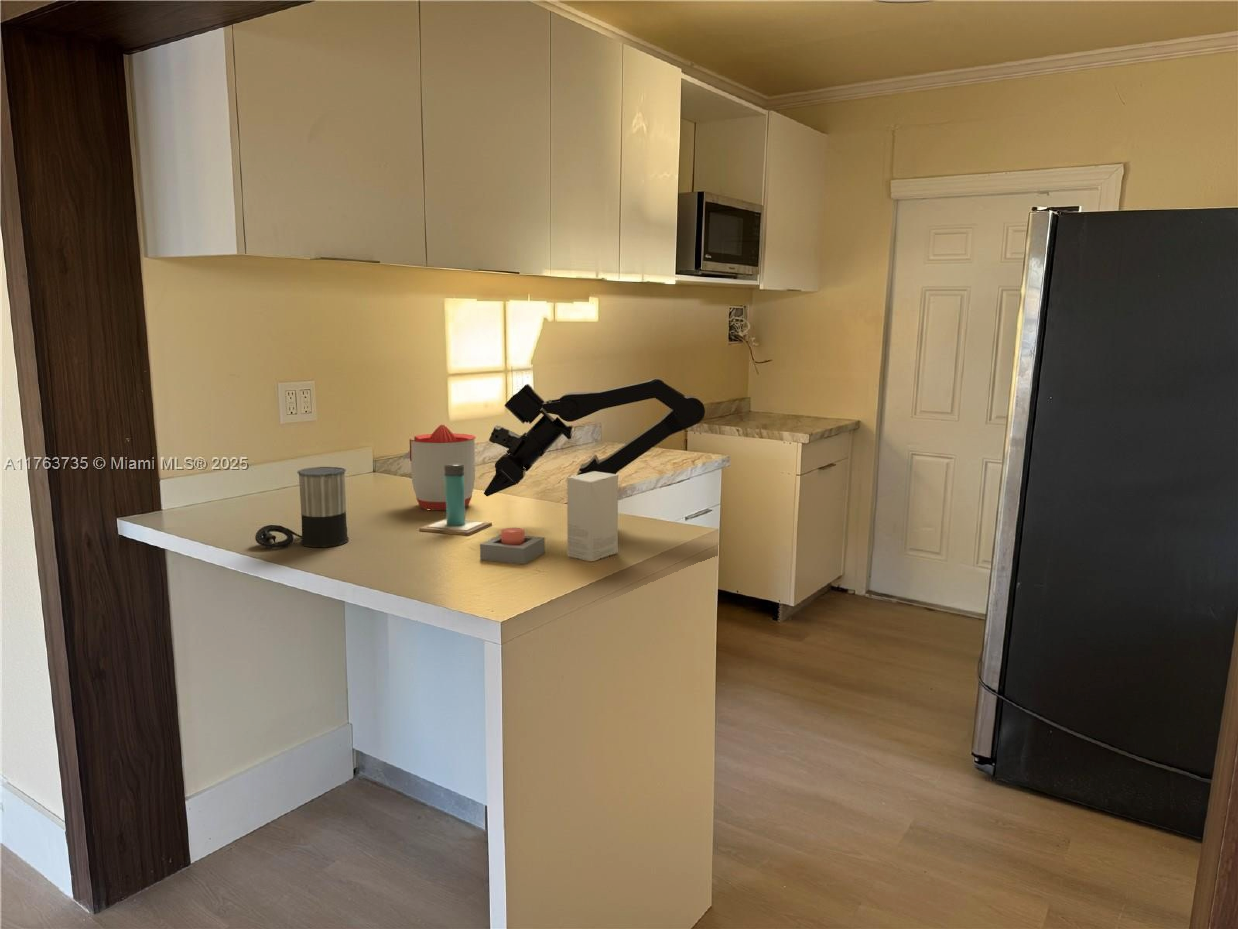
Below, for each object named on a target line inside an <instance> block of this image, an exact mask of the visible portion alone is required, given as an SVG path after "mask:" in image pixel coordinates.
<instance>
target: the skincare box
mask: <svg viewBox="0 0 1238 929" xmlns="http://www.w3.org/2000/svg"><path fill="white" fill-rule="evenodd" d="M566 481H567V482H566V485H567V486H566V487H567V488H566V491H567V492H566V494H567V497H566V498H567V500H566V501H567V503H566V505H567V508H566V509H567V510H566V511H567V517H566V518H567V519H566V520H567V521H566V522H567V524H566V525H567V530H566V532H567V533H566V535H567V540H566V542H567V557H569V558H572V559H573V558H574V559H577V558H579V559H578V560H581V559H582V561H585V560H586V561H585V562H589V561H593V562H596V561H598V560H601V559H605V558H606V557H610V556H612V555H615V554H618V552H619V551H618V550H619V549H618V548H619V547H618V546H619V545H618V543H619V542H618V541H619V538H618V537H619V536H618V532H619V531H618V530H619V529H618V527H619V514H618V513H619V474H617V473H616V474H610V473H603V472H597V471H593V472H589V473H585V474H580V475H577V474H576V475H572V476H567V477H566ZM609 555H610V556H609ZM600 558H601V559H600Z"/></svg>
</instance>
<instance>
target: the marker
mask: <svg viewBox="0 0 1238 929" xmlns="http://www.w3.org/2000/svg"><path fill="white" fill-rule="evenodd" d="M444 475H445V491H446V510H445V514H446V515H445V516H446V517H445V518H446V521H447V526H462V525H465V520H466V507H465V493H464V464H460V463H452V464H445V465H444Z"/></svg>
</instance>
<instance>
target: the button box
mask: <svg viewBox="0 0 1238 929" xmlns="http://www.w3.org/2000/svg"><path fill="white" fill-rule="evenodd" d="M524 541H525V543H523V544H521V545H520V546H519V545H509V544H501V533H500V534H498V535H496V536H495V537H493V538H490V539H488V540H486V541H484V542H482V543H479V551H480V552H479V555H480V556H479V557H480V561H488V562H499V563H507V564H517V565H526V564H527V563H529V562H531V561H532V560H534V559H536V558H538V557H539V556H541V555H543V554H545V550H546V548H545V542H546V541H545V537H543V536H533V535H525V534H524Z"/></svg>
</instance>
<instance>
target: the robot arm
mask: <svg viewBox="0 0 1238 929" xmlns="http://www.w3.org/2000/svg"><path fill="white" fill-rule="evenodd" d="M651 399H655V400H658V401H659V402H660V403H662V404H663V405H664V406H666V407H668V408H669V410H668V411H667V412H666V413H665V414H664V415H663V416H662V417H661V418H660V419H659V420H658V421H657V422H655V423H654V424H653V425H651V426H649V427H648V428H646V429H645V430H643V431H642V432H641V433H639V434H638V435H636V436H635V437H633V438H631V440H629V441H627V442H626V443H625V444H624V445H622V446H621V447H619V448H618V449H617V450H615V451H614V452H612V453H611V454H609V455H608V456H605V457H603V458H601V459H599V457H598V455H597V454H594V455H593V456H592V457H591V458H590V459H589V460H588V461H587V462H584V463H581V464H580V466H579V469H578V471H577V473H576V475H580V474H585V473H589V472H593V471H597V472H603V473H610V474H617V473H618V472H620V471H621V470H622V469H624V468H625V467H627V466H629V464H631V463H633V462H634V461H635V460H637V459H638V458H640V457H641V456H642V455H644V454H645V453H647V452H648V451H649V450H651V449H653V448H655V446H657V445H658V444H660V443H661V442H663V441H664V440H666V439H667V438H669V437H670V436H672V435H675V434H677V433H679V432H682V431H685V430H686V429H689V428H691V427H693V426H695V425H698V424H700V422H702V421H703V419H704V418H705V413H706V409H705V405H704V403H703V402H702V401H701V400H700V399H699V398H698V397H697V396H695V395H690V394H689V395H684V393H681V392H680V391H678V389H675V388H673V387H672V386H670V385H669V384H667V383H666V382H664V380H662V379H661V378H657V377H655V378H651V379H650V380H646V381H641V382H637V383H633V384H628V385H622V386H620V387H619V386H618V387H615V388H610V389H605V390H604V389H603V390H600V391H573V392H571V391H570V392H566V393H565V394H563V395H562V396H561V397H559V398H557V399H556V398H555V399H548V400H544V399H543V397H541V396H540V395H539V394H538V393H537V392H536V391H535V390H534V389H533V387H532V386H531V385H530V384H529V383H526V384H525V385H523V387H522V388H521V389H519V391H517V392H516V393H515V394H513V395H512V396H511V397H510V398H509V399H508V401H507V402H506V403H504V407H505V408H506V409H507V411H509V412H510V413H511V414H512V415H514V417H515V418H516V419H517V421H519V422H520V423H521V424H522V425H524V424H525V423H526V424H530V425H532V423H533V422H534V421H535V420H536V419H537V418H538V417H539V416H540V415H541V414H542V416H541V417H540V419H538V420H537V421H536V422H535V423H534V424H533V426H532V427H530V429H528V431H527V432H526V431H525V432H524V433H523V434H522V435H520V434H518V433H517V432H514V431H512V430H509V428H506V427H504V426H501V425H497V424H496V425H495V426H493V429H492V432H491V433H490V436H489V438H488V441H489V442H490V443H493V444H497V445H499V446H501V447H503V448H506V449H507V450H506V452H505V454H502V456H501V457H499V459H498V460H497V461H496V462H495V463H494V468H495V474H494V476H493V477H492V479H491V480H490V482H489V484H488V485H487V487H486V488H485V490H484V492H483V494H484V496H485V497H490V496H492V495H494V494H497V493H499V492H501V491H504V490H506V489H508V488H509V489H510V487H513V486H515V485H518V484H519V483H520V482H521V481H522V480H523V479H524V478H525V477H526V473H527V472H528V471H529V470H530V469H531V468H532V467H534V464H536V462H537V461H538V460H539V459H540V458H542V457H543V456H544V455H545V453H546V452H547V451H548V450H549V449H550V448H552V446H553V445H554V444H555V443H556V442H557V441H558V440H559V439H560V438H561V437H562V435H563V436H564V437H565V438H566V439H567V440H572V437H573V425H566V423H568V422H569V423H570V422H571V423H573V422H575V421H576V422H577V420H581V419H584V418H585V417H589V416H590V415H592V414H594V413H596V412H597V413H598V412H599V411H601V410H604V409H605V410H606V409H609V408H614V407H619V406H622V405H623V406H624V405H628V404H632V403H638V402H642V401H646V400H651ZM550 414H551V415H550ZM552 415H555V416H557V417H556V418H554V417H552ZM564 421H565V422H566V423H565V422H564Z"/></svg>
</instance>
